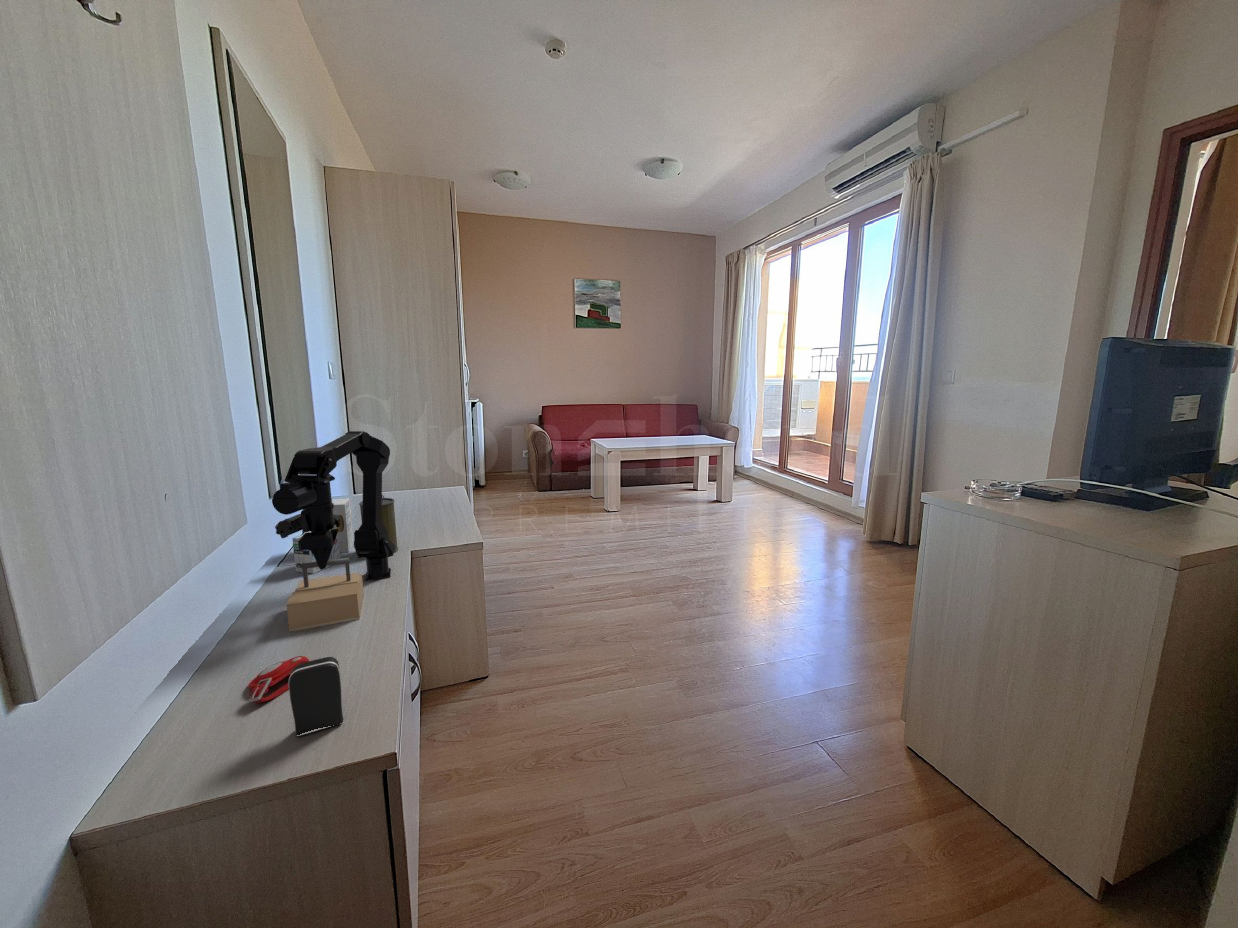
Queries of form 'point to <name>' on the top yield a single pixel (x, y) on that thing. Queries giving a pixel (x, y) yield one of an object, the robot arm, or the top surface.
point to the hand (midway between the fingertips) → (324, 564)
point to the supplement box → (343, 523)
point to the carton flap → (327, 581)
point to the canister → (387, 519)
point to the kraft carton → (325, 606)
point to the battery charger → (316, 694)
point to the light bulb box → (311, 555)
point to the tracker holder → (273, 679)
